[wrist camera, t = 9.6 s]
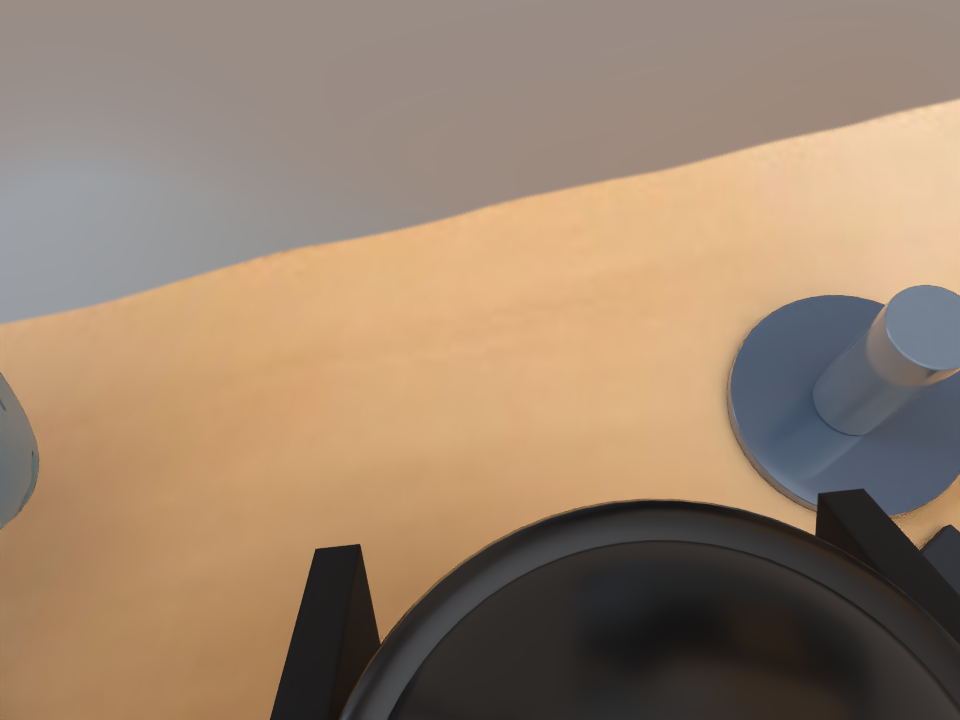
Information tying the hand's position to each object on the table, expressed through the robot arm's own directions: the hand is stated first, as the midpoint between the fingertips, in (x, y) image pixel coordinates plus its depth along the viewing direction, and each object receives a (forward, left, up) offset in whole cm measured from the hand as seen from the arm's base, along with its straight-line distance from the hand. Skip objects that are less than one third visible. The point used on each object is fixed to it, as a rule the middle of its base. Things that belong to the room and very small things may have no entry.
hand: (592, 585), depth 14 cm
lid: (+1, +16, -19) cm, 25 cm away
